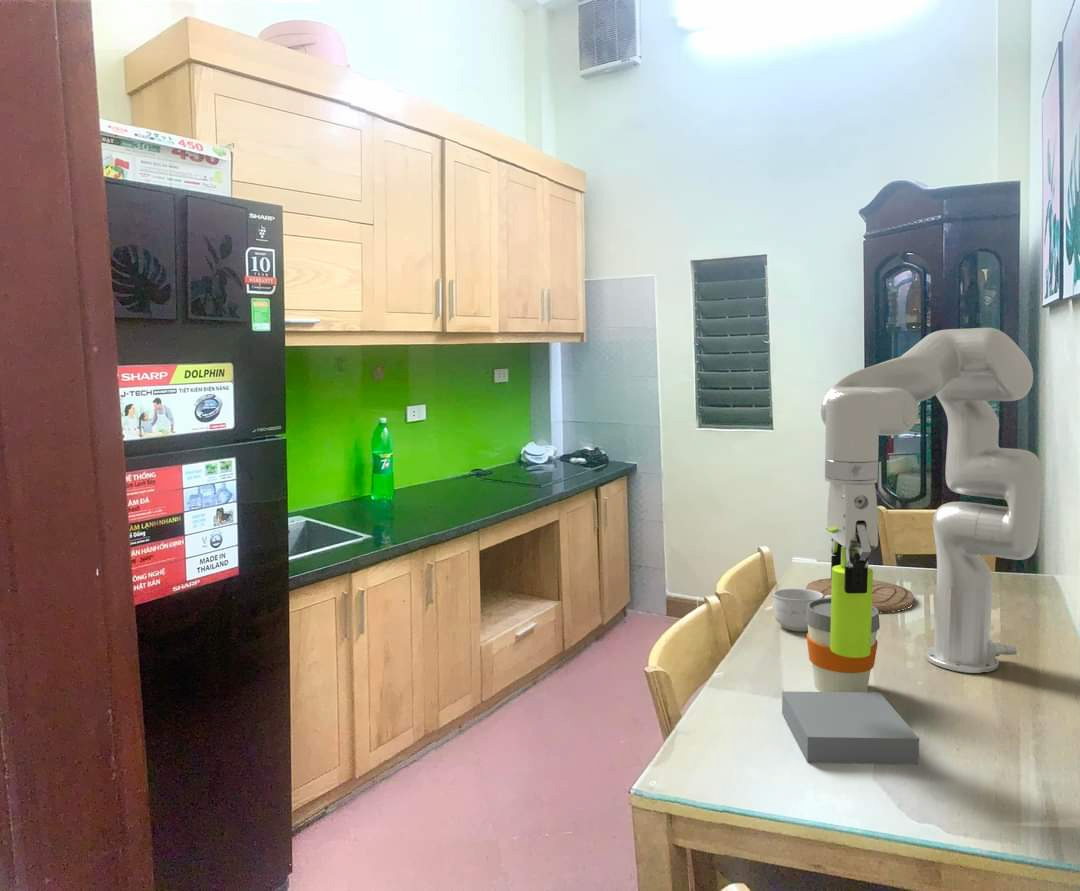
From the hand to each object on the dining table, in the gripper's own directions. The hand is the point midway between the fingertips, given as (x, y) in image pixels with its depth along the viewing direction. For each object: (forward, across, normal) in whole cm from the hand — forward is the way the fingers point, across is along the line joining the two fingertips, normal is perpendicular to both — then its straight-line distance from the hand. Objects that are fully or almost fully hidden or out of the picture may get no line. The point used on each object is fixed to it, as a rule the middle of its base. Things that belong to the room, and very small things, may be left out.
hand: (848, 585), depth 120 cm
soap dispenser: (+11, 0, 0) cm, 11 cm away
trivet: (+25, +74, -26) cm, 82 cm away
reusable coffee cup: (+25, +19, -5) cm, 32 cm away
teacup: (+25, +51, -7) cm, 57 cm away
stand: (+25, 0, 0) cm, 25 cm away
